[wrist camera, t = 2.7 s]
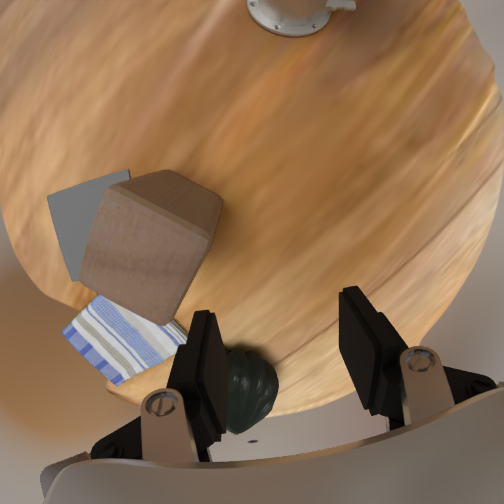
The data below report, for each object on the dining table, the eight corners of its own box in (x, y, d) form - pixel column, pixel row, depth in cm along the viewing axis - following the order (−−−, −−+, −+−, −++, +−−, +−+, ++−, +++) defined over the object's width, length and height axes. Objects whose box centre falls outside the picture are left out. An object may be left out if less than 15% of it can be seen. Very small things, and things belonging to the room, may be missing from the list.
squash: (230, 330, 42) (192, 422, 34) (304, 366, 45) (276, 447, 38) (200, 337, 53) (170, 406, 45) (263, 367, 57) (238, 431, 49)
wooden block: (194, 256, 43) (166, 334, 24) (137, 226, 41) (72, 283, 22) (225, 198, 40) (215, 240, 21) (164, 166, 38) (103, 182, 19)
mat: (128, 169, 38) (127, 169, 38) (152, 268, 44) (152, 269, 43) (47, 195, 39) (46, 196, 38) (72, 280, 44) (71, 281, 44)
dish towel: (197, 339, 48) (195, 349, 46) (119, 382, 53) (116, 390, 50) (130, 266, 43) (124, 274, 40) (62, 326, 47) (56, 334, 45)
